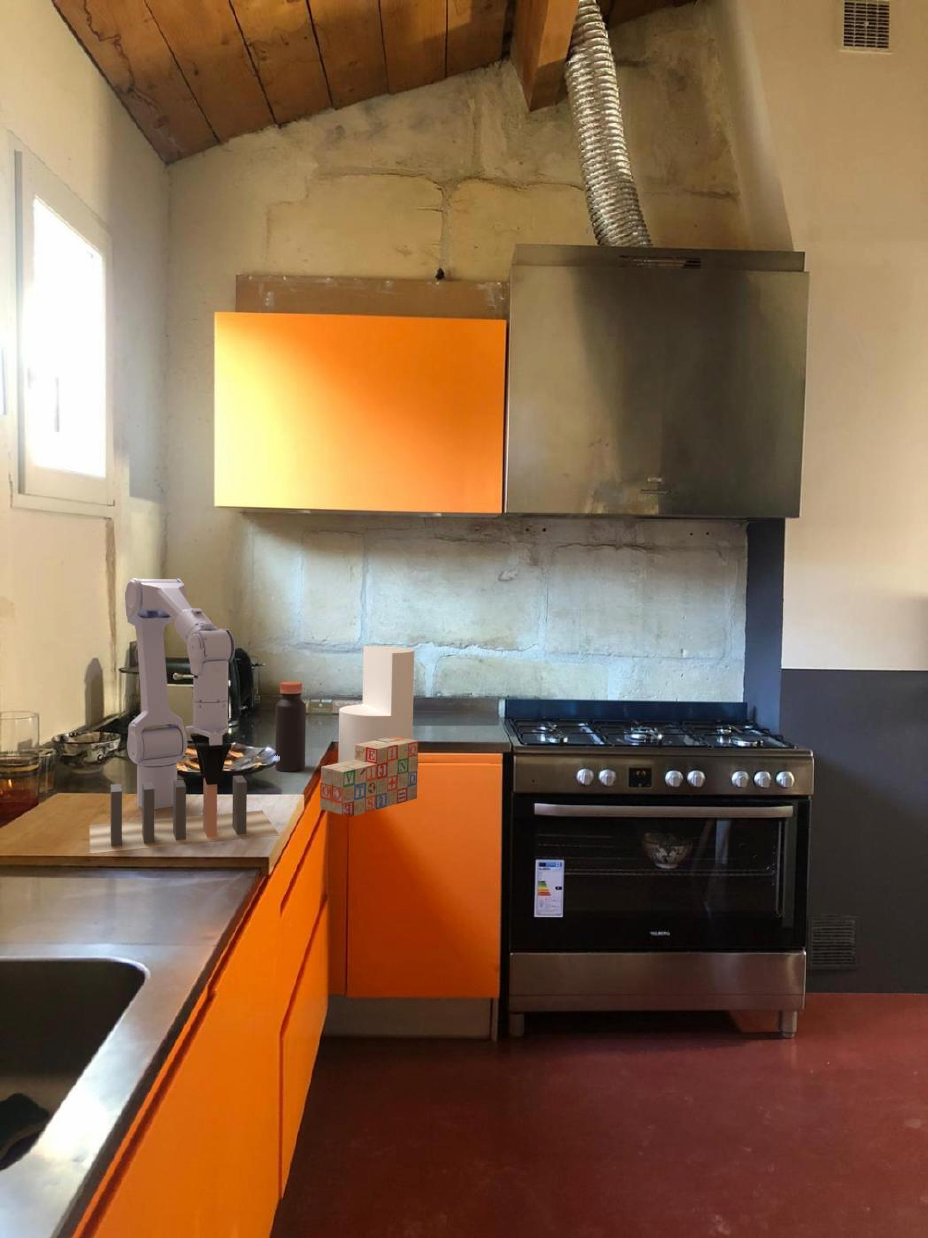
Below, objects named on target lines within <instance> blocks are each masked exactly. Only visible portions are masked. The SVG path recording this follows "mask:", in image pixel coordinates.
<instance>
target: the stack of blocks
mask: <svg viewBox="0 0 928 1238" xmlns="http://www.w3.org/2000/svg"><path fill="white" fill-rule="evenodd" d="M418 769H419V740H415V739H412V740H411V739H405V738H399V737H393V738H383V739H378V740H376V741H370V742H366V743H361V744H356V745H355V760H351V761H346V762H341V763H338V762H337V763H332V764H329V765H323V766H321V768H320V784H319V785H320V786H319V791H320V792H319V797H320V798H319V809H321V810H323V811H327V812H331V813H335V814H337V815H345V817H347V818H351V817H357V816H359V815H362V814H366V813H371V812H374V811H376V810H380V809H384V808H388V807H391V806H394V805H399V804H402V803H405V802H409V801H412V800H415V799H417V798H418Z"/></svg>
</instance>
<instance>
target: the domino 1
mask: <svg viewBox="0 0 928 1238" xmlns="http://www.w3.org/2000/svg"><path fill="white" fill-rule="evenodd" d="M122 822H123V789H122V784H121V783H117V784H115V783H114V784H110V823H111V847H112V846H122Z"/></svg>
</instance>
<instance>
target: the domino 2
mask: <svg viewBox="0 0 928 1238" xmlns="http://www.w3.org/2000/svg"><path fill="white" fill-rule="evenodd" d="M141 809H142V810H141V812H142V813H141V814H142V815H141V819H142V820H141V821H142V836H143V841H144V843H154V820H155V809H154V786H153V782H142V808H141Z"/></svg>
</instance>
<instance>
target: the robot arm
mask: <svg viewBox="0 0 928 1238" xmlns="http://www.w3.org/2000/svg"><path fill="white" fill-rule="evenodd" d="M124 601H125V603H124V604H125V613H126V614H125V615H126V618H127V619H126V621H127V623H128V624H130V625H131V626H134V628H135V635H136V646H137V661H138V672H139V673H138V675H139V684H140V687H139V688H140V699H141V700H140V701H141V710H142V711H141V713H140V714H138V715H137V716H136V717H135V718H134V719H132V721H131V722H130V723H129V724H128V727H127V730H128V732H127V739H126V740H127V742H126V750H127V754H128V757H129V758H130V761H132V763H134V764H136V765H137V766H136V767H137V768H136V769H137V772H136V773H137V774H136V775H137V777H136V783H137V784H136V789H137V791H136V794H137V795H136V796H137V797H136V799H137V800H136V803H137V807H138V808H141V809H142V782H153V786H154V810H155V809H158V810H159V809H165V808H170V807H173V780H178V763H181V758H183V757H184V756H185V754H186V752H187V750H188V737H187V733H190V732H193V733H190V734H189V735H190V739H191V740H192V743H193V744H194V747H195V750H196V751H195V752H196V756H197V761H198V767H199V771H200V774H201V775H203V776H204V778H205V781H206V784H207V785H215V784H217V785H220V784H221V779H222V777H223V776H222V775H223V773H224V772H223V771H224V767H225V762H226V759H227V756H228V755H229V752H230V751H231V749H232V743H231V742H225V743H223V738H224V736H225V734H226V733H227V732H229V729H230V725H229V723H228V721H229V718H228V717H229V715H228V714H229V663H231V662H232V661H233V660H234V657H235V654H236V653H235V652H236V642H235V637H234V636H233V633H232V632H231V630H230V629H228V628H218V627H217V626H216V625H215V624H214V623H213V622H212V621H211V619H209V617H208V616H207V615H206V614H205V613H204V611H203V610H202V609H201V607H200V608H199V607H198V608H197V607H196V608H195V607H192V605H190V603H189V601H188V600H187V589H186V585H185V584H184V582H183V581H182V580H181V579H180V578H174V579H172V578H171V579H170V578H167V579H166V578H163V579H162V578H160V579H159V578H156V579H155V578H137V577H134V578H131V579H130V580H129V582H128V583H127V585H126V589H125V591H124ZM173 622H174V630H175V631H176V633H177V635H178V636H179V637H180V638H181V640H183V642H184V643H185V645H186V649H187V650H186V651H187V656H188V659H189V669H190V674H193V677H192V678H193V680H192V683H193V689H192V690H193V691H192V694H193V695H192V702H193V703H192V725H186V726H184V722H183V718H182V717H181V716H179V715H177V714H176V713H174V712H173V711H171V710H170V703H169V691H168V690H169V688H168V677H167V666H166V665H167V663H166V653H165V641H164V629H165V626H166V625H169V624H171V623H173ZM157 726H159V727H157ZM160 726H166V727H160ZM148 727H156V728H148ZM145 728H147V729H145ZM186 732H187V733H186Z"/></svg>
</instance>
